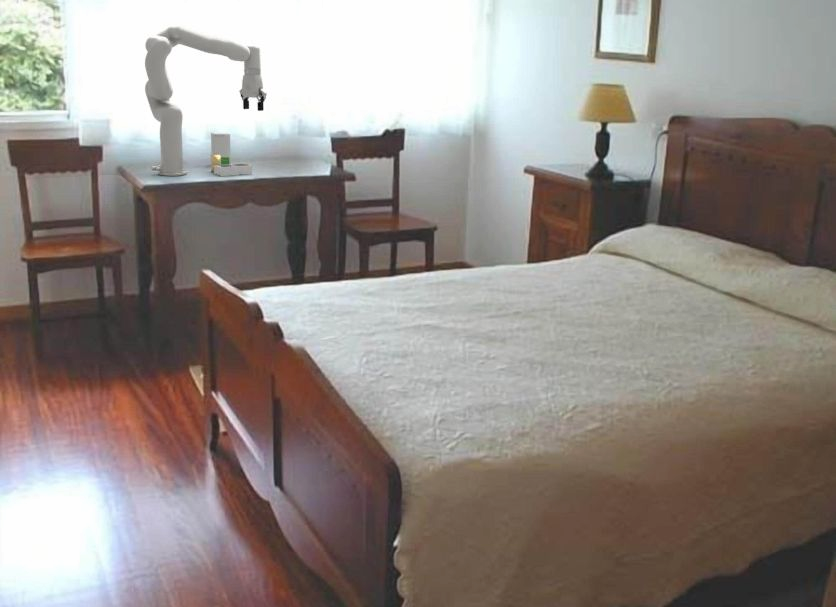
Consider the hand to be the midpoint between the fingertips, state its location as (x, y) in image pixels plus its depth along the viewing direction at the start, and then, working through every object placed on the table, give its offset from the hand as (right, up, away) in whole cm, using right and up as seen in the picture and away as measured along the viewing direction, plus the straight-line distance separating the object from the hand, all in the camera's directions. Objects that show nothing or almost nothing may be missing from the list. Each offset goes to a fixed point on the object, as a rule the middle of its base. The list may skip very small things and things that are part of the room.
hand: (253, 109), depth 436 cm
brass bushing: (-17, -30, -4) cm, 34 cm away
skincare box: (-18, -24, +16) cm, 34 cm away
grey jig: (-8, -31, -9) cm, 33 cm away
